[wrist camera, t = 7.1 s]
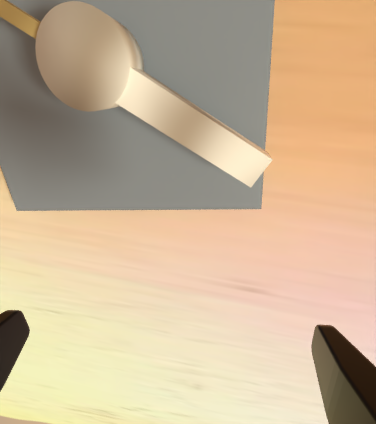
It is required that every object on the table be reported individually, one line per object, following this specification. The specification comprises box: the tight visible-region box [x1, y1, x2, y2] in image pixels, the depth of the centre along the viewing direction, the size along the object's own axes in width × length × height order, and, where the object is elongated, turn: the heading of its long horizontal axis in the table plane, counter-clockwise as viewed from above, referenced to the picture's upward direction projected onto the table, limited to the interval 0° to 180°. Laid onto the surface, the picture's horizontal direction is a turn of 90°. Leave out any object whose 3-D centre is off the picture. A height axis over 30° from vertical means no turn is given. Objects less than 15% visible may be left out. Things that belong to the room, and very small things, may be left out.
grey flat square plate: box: [0, 0, 275, 211], centre depth 15 cm, size 18×18×1 cm
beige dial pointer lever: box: [0, 0, 272, 187], centre depth 13 cm, size 19×4×3 cm, turn 59°
